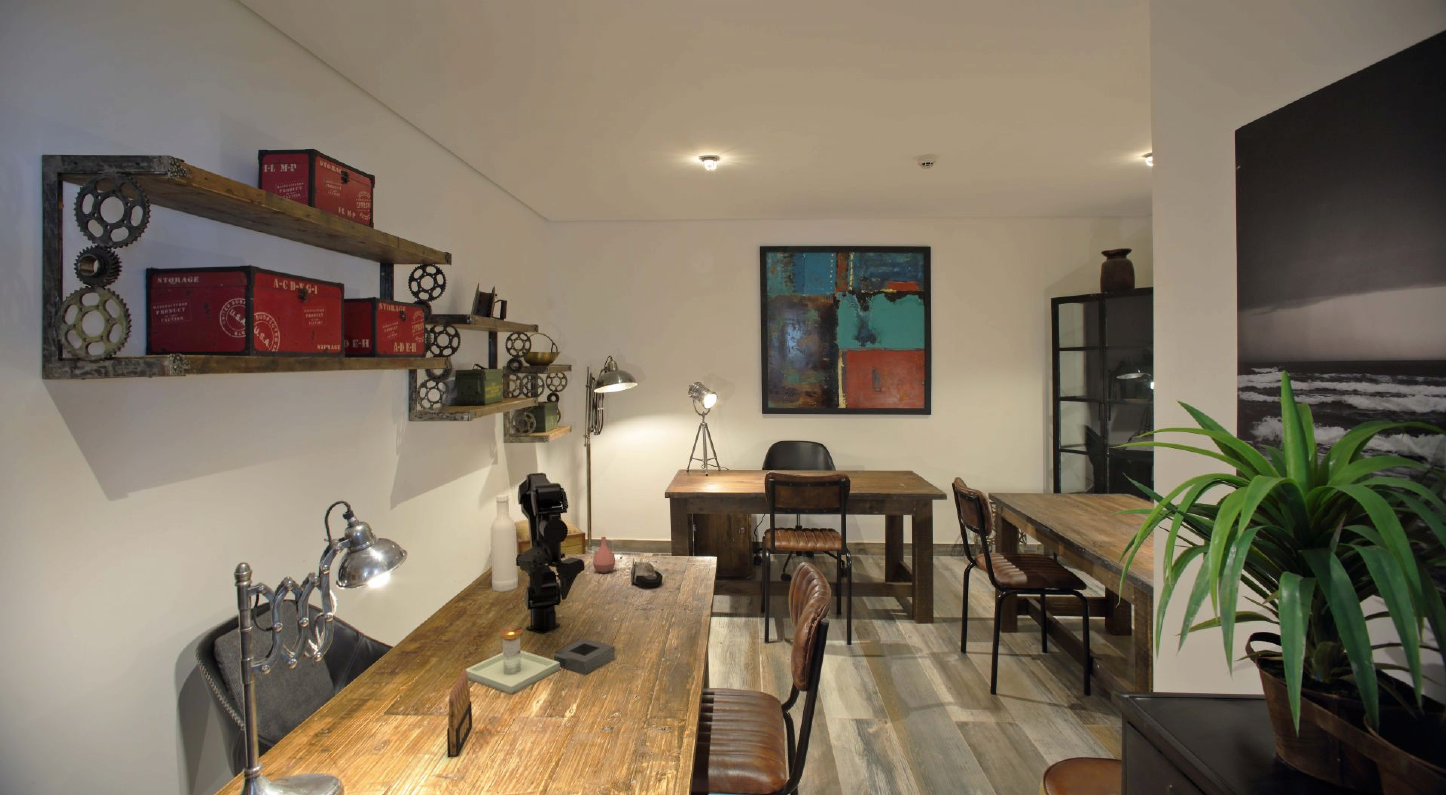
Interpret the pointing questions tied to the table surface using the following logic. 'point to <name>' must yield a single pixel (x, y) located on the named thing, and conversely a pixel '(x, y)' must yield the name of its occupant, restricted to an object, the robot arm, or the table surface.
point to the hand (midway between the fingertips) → (550, 596)
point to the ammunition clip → (459, 715)
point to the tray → (530, 673)
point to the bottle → (503, 548)
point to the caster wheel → (645, 575)
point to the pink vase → (604, 558)
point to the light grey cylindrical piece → (511, 649)
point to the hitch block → (584, 656)
